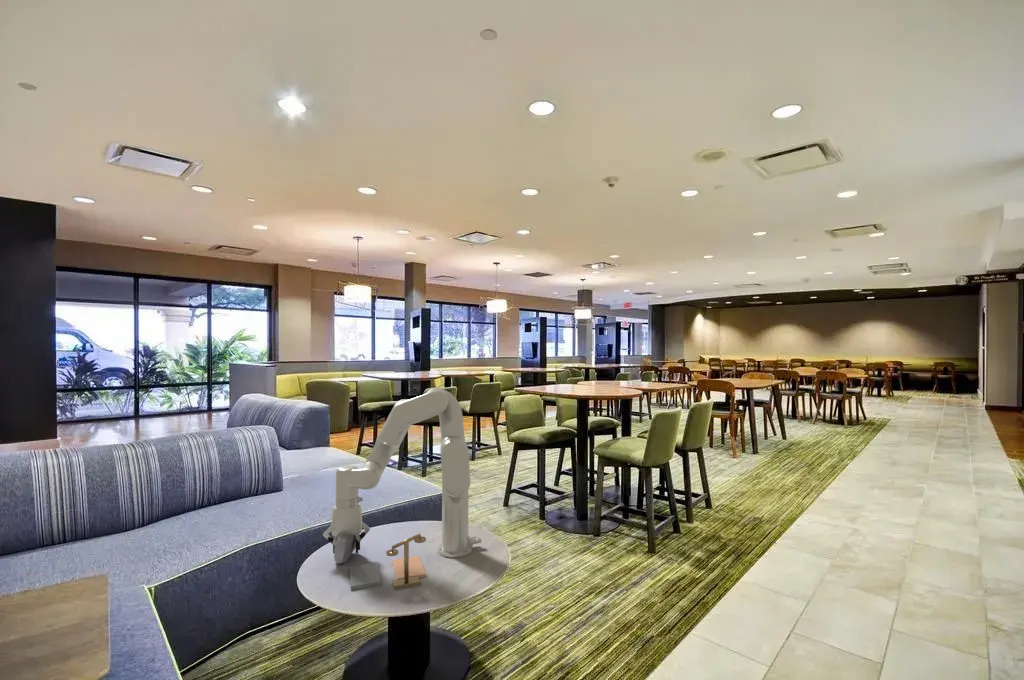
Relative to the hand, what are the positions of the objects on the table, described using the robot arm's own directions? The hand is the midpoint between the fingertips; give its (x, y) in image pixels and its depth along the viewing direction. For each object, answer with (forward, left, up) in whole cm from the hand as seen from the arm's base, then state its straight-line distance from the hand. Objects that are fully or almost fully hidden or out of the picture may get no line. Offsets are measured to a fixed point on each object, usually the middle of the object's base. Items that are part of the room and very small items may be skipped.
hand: (346, 553), depth 168 cm
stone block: (0, 0, -3) cm, 3 cm away
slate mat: (-5, +16, -2) cm, 17 cm away
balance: (-17, +25, -2) cm, 30 cm away
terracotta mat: (-19, +16, -2) cm, 25 cm away
